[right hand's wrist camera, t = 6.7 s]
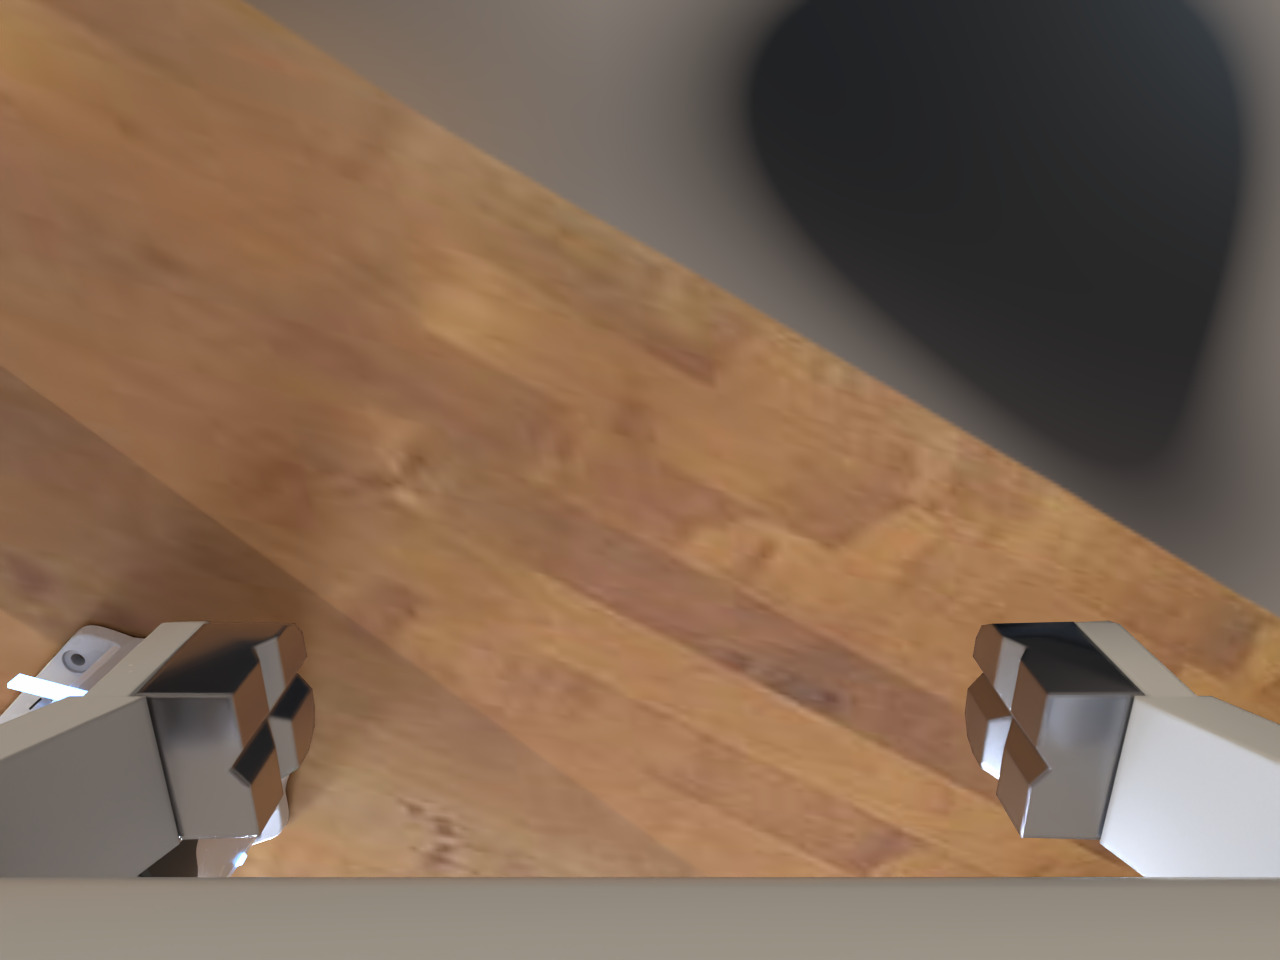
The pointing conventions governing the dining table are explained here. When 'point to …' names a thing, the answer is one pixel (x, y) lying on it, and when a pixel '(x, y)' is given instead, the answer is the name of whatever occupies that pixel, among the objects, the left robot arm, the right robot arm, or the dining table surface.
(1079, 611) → the dining table surface
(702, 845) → the dining table surface
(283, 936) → the right robot arm
